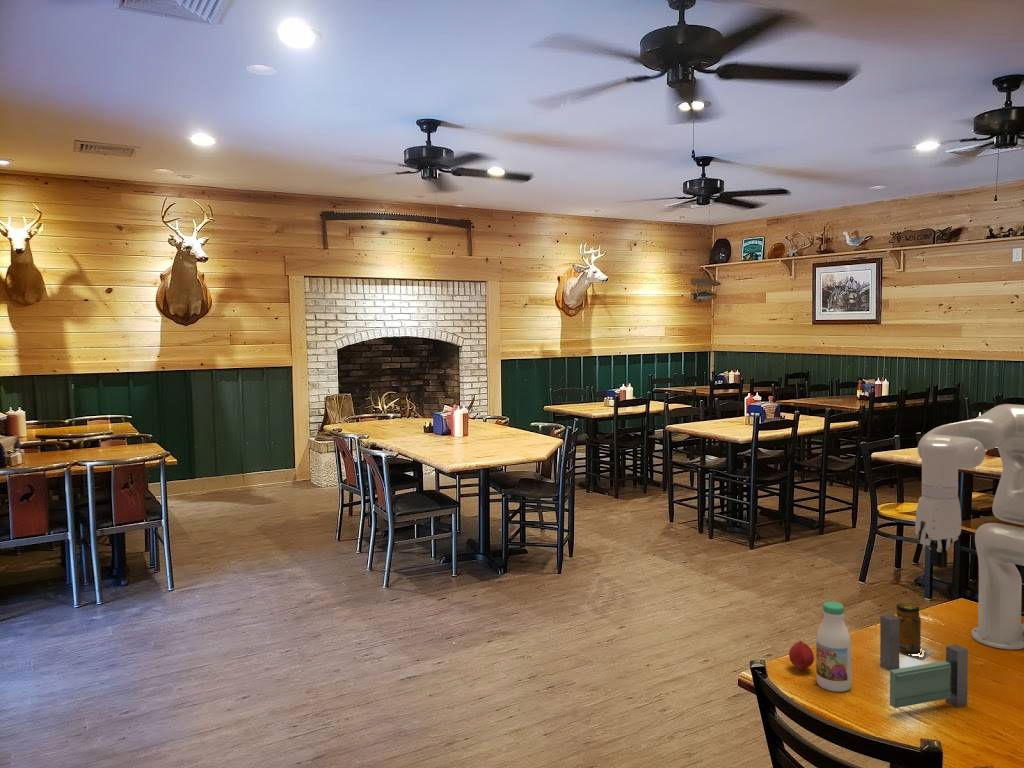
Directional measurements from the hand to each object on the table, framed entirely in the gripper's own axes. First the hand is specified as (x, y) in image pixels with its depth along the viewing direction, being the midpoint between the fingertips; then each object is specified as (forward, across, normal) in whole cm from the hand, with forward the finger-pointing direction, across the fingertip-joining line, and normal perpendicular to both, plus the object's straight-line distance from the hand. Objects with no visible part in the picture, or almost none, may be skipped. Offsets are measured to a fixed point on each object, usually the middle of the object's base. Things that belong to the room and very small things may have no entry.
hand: (939, 566), depth 178 cm
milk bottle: (+27, +27, -5) cm, 39 cm away
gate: (+25, +18, +11) cm, 33 cm away
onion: (+27, +29, -14) cm, 42 cm away
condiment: (+27, -4, -12) cm, 30 cm away
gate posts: (+27, +8, +2) cm, 28 cm away
